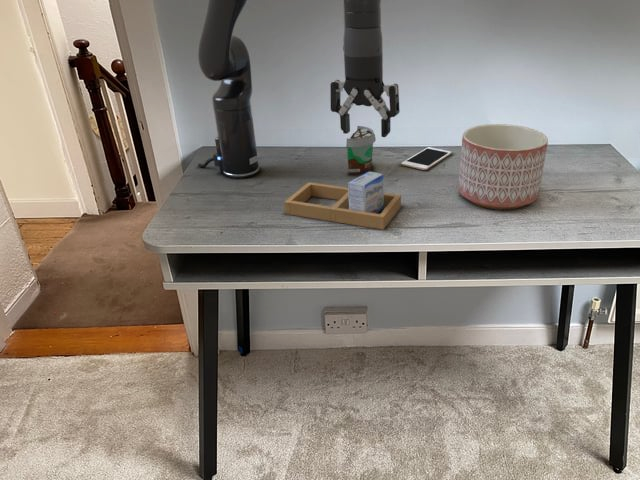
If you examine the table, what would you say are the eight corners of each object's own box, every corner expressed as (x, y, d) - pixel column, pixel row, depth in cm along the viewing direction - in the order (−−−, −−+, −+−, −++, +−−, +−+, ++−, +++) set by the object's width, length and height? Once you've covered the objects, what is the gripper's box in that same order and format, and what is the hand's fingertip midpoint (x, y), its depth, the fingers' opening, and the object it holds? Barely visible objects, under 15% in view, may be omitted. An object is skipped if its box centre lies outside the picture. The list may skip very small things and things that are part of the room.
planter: (514, 178, 144) (522, 121, 136) (553, 207, 129) (564, 145, 121) (446, 185, 140) (450, 127, 132) (477, 217, 124) (484, 153, 116)
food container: (370, 178, 144) (369, 140, 138) (347, 176, 145) (346, 139, 139) (380, 162, 154) (380, 126, 148) (358, 160, 155) (357, 125, 149)
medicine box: (365, 222, 122) (364, 185, 117) (348, 218, 124) (347, 181, 119) (384, 209, 127) (384, 174, 123) (368, 205, 129) (367, 170, 125)
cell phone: (400, 165, 151) (400, 163, 151) (428, 148, 163) (428, 146, 163) (425, 170, 148) (426, 168, 148) (452, 153, 160) (452, 151, 159)
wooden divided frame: (285, 213, 125) (284, 201, 124) (309, 193, 135) (308, 181, 134) (383, 229, 119) (383, 217, 117) (401, 207, 129) (401, 195, 127)
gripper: (403, 50, 108) (403, 132, 117) (337, 46, 112) (341, 126, 121) (391, 57, 102) (391, 143, 111) (321, 53, 106) (327, 136, 115)
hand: (365, 134), depth 116 cm, fingers open, 8 cm apart
